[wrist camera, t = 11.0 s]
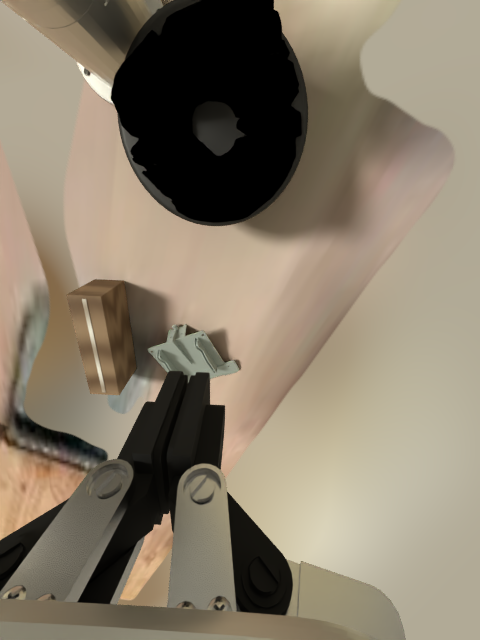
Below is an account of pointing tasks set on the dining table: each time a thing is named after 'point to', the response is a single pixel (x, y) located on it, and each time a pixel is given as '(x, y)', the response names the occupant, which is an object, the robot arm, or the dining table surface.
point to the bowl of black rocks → (212, 108)
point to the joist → (103, 334)
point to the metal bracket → (191, 354)
